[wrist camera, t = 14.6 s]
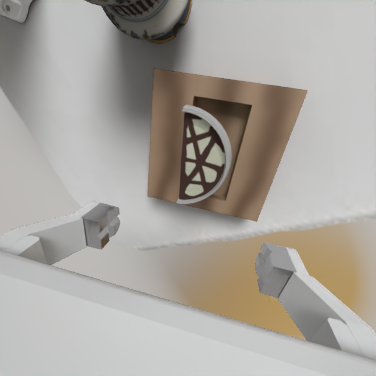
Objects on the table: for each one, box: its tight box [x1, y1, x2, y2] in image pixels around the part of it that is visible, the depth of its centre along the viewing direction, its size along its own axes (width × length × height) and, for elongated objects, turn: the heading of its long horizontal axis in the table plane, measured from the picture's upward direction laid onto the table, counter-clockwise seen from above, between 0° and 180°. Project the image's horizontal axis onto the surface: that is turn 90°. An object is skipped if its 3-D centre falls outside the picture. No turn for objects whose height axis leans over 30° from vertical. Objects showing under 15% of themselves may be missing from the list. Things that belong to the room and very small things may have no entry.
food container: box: [176, 105, 232, 204], centre depth 25 cm, size 12×6×10 cm, turn 175°
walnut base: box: [147, 69, 308, 221], centre depth 29 cm, size 20×20×6 cm
